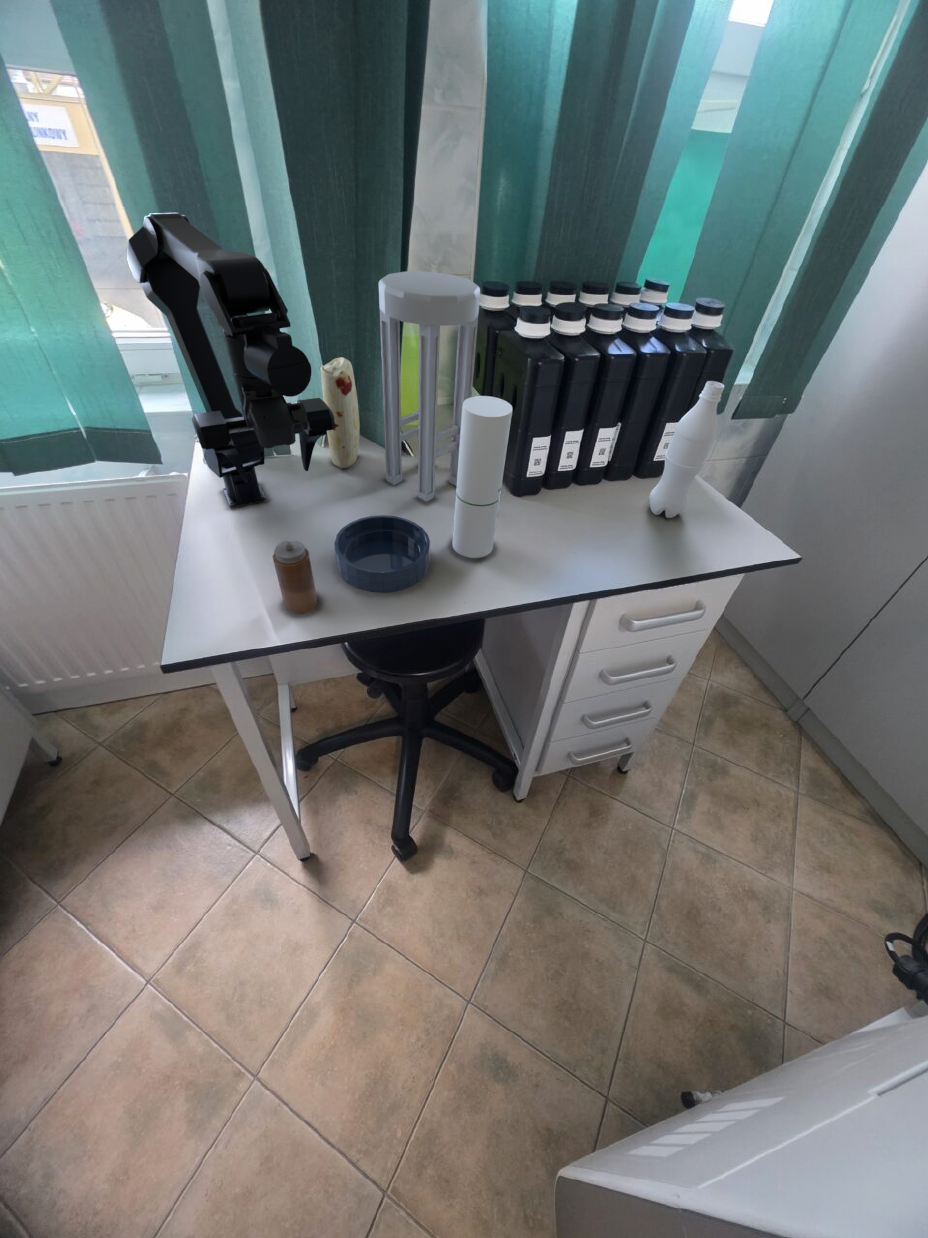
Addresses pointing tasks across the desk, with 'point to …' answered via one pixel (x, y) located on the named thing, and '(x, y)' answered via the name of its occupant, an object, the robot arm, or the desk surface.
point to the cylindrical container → (480, 473)
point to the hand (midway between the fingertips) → (276, 475)
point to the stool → (425, 365)
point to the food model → (341, 411)
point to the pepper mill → (295, 576)
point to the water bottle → (687, 452)
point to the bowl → (382, 553)
